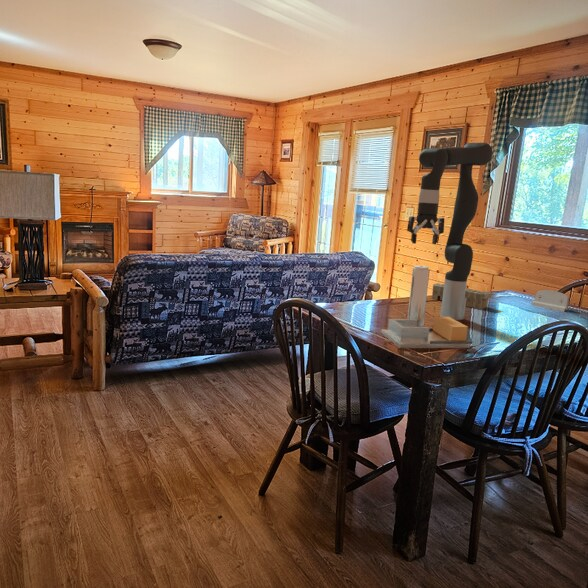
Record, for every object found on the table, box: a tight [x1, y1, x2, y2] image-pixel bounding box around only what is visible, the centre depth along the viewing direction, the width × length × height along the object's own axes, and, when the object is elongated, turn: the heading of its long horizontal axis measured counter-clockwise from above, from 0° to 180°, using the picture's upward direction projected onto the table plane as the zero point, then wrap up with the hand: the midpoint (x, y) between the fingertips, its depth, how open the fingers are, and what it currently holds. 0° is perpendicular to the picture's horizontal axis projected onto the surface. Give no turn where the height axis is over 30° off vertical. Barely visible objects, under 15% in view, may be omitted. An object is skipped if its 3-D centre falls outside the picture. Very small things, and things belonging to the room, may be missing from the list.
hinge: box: [531, 289, 570, 313], centre depth 258 cm, size 17×5×10 cm, turn 43°
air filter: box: [406, 265, 431, 327], centre depth 201 cm, size 6×6×25 cm
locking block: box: [432, 316, 469, 341], centre depth 187 cm, size 6×14×6 cm, turn 11°
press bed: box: [380, 318, 473, 349], centre depth 185 cm, size 28×18×6 cm, turn 101°
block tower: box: [431, 282, 493, 310], centre depth 255 cm, size 8×8×29 cm
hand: (424, 243), depth 197 cm, fingers open, 8 cm apart
